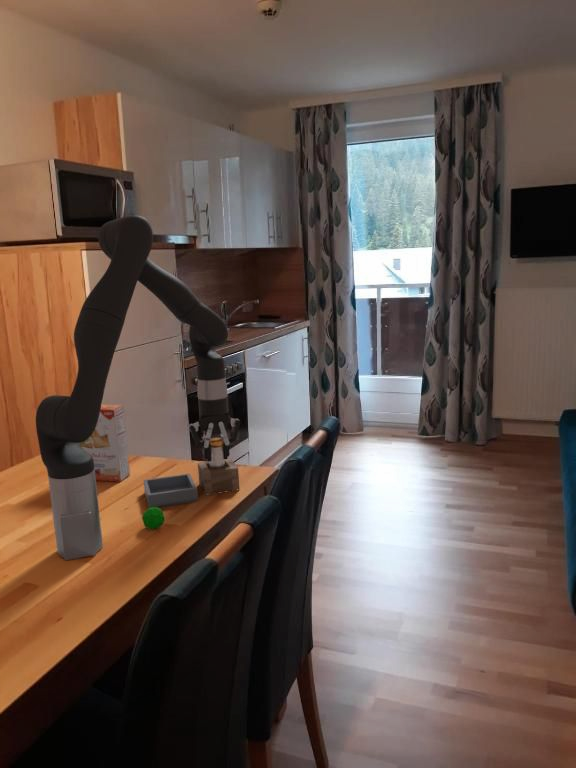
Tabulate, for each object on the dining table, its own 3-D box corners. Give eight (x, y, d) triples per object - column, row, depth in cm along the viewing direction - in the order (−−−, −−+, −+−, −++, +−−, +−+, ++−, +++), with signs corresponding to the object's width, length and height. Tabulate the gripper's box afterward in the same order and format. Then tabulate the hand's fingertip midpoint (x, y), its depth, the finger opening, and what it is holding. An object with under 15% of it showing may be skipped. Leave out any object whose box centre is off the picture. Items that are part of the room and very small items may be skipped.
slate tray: (197, 501, 161) (196, 488, 160) (149, 508, 157) (147, 495, 156) (190, 485, 172) (189, 473, 171) (144, 492, 168) (143, 479, 168)
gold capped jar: (227, 485, 168) (224, 440, 166) (212, 487, 167) (209, 442, 165) (224, 480, 172) (221, 437, 170) (209, 482, 171) (206, 438, 169)
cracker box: (75, 480, 180) (66, 408, 176) (86, 473, 186) (78, 403, 182) (120, 482, 177) (113, 408, 173) (130, 475, 183) (123, 403, 179)
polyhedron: (141, 525, 147) (139, 506, 146) (163, 521, 149) (161, 502, 148) (145, 534, 143) (143, 514, 142) (167, 530, 144) (165, 510, 144)
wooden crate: (239, 490, 167) (238, 468, 166) (205, 495, 165) (203, 472, 163) (232, 479, 176) (230, 458, 174) (199, 483, 173) (197, 462, 172)
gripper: (187, 401, 160) (192, 467, 163) (243, 395, 164) (246, 460, 167) (182, 395, 167) (187, 459, 170) (236, 390, 171) (240, 452, 174)
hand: (216, 459), depth 168 cm, fingers closed on gold capped jar, 4 cm apart
